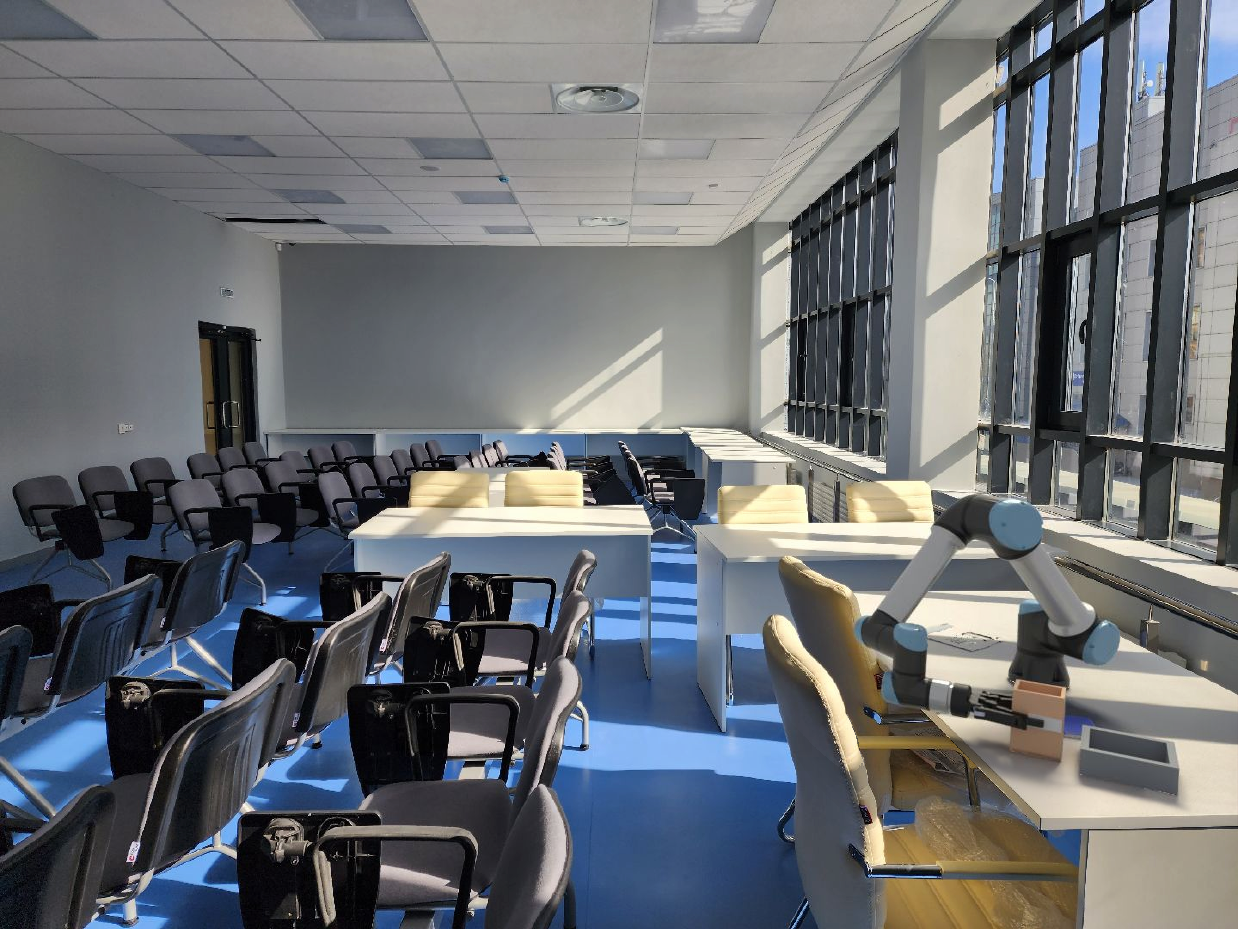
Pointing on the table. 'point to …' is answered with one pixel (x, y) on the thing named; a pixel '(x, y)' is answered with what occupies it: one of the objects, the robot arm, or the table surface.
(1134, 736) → the tray
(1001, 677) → the table surface
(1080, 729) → the hard drive
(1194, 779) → the table surface
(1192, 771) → the table surface
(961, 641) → the office telephone
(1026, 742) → the tall tapered brown container
